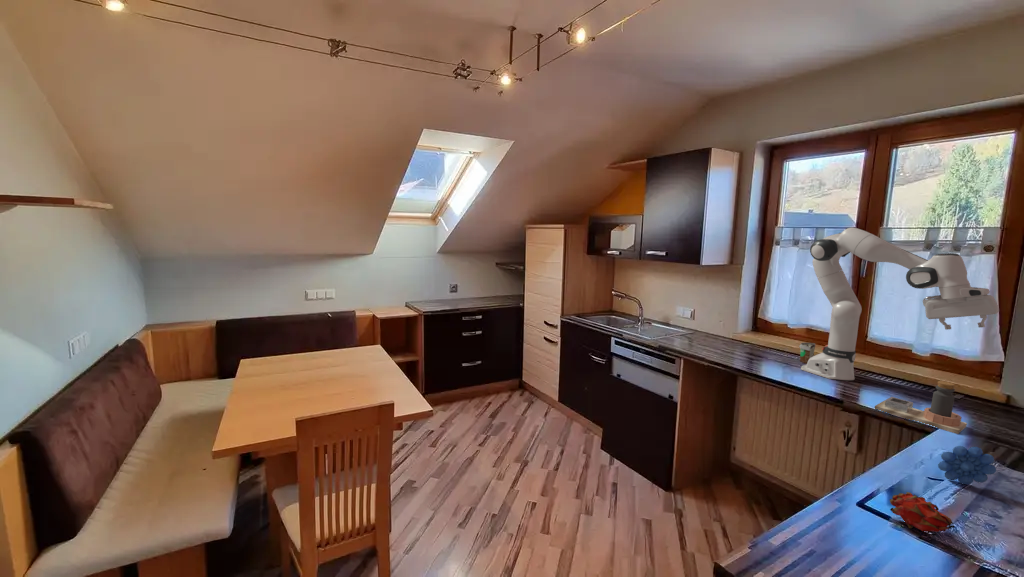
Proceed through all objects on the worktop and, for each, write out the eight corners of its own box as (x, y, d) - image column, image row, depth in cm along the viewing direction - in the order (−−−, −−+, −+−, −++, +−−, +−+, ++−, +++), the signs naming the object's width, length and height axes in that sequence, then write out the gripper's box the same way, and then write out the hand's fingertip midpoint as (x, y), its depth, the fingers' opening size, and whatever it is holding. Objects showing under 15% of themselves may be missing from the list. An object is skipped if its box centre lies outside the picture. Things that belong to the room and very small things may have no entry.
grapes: (987, 484, 129) (995, 446, 128) (993, 495, 124) (1002, 455, 122) (933, 470, 136) (940, 434, 134) (937, 480, 131) (944, 442, 129)
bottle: (952, 425, 166) (960, 386, 164) (932, 421, 169) (939, 384, 167) (945, 419, 172) (952, 382, 170) (926, 415, 174) (932, 379, 172)
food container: (800, 358, 253) (802, 341, 252) (813, 360, 249) (815, 343, 248) (794, 362, 245) (797, 344, 243) (807, 365, 241) (810, 347, 239)
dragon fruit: (882, 517, 115) (943, 549, 107) (882, 511, 110) (947, 545, 101) (895, 487, 117) (957, 517, 108) (896, 480, 111) (962, 511, 102)
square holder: (884, 406, 182) (885, 399, 181) (890, 403, 186) (891, 396, 185) (906, 413, 176) (907, 406, 176) (912, 409, 180) (913, 402, 180)
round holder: (920, 418, 172) (921, 410, 171) (927, 412, 177) (929, 405, 177) (955, 428, 163) (957, 420, 163) (962, 422, 169) (964, 415, 169)
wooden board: (874, 409, 183) (874, 405, 182) (884, 403, 189) (885, 400, 189) (958, 434, 162) (958, 430, 162) (966, 426, 169) (967, 423, 169)
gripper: (918, 297, 181) (927, 331, 179) (990, 289, 164) (1000, 327, 162) (924, 296, 184) (932, 329, 183) (994, 288, 167) (1004, 324, 166)
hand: (964, 328), depth 172 cm, fingers open, 8 cm apart
